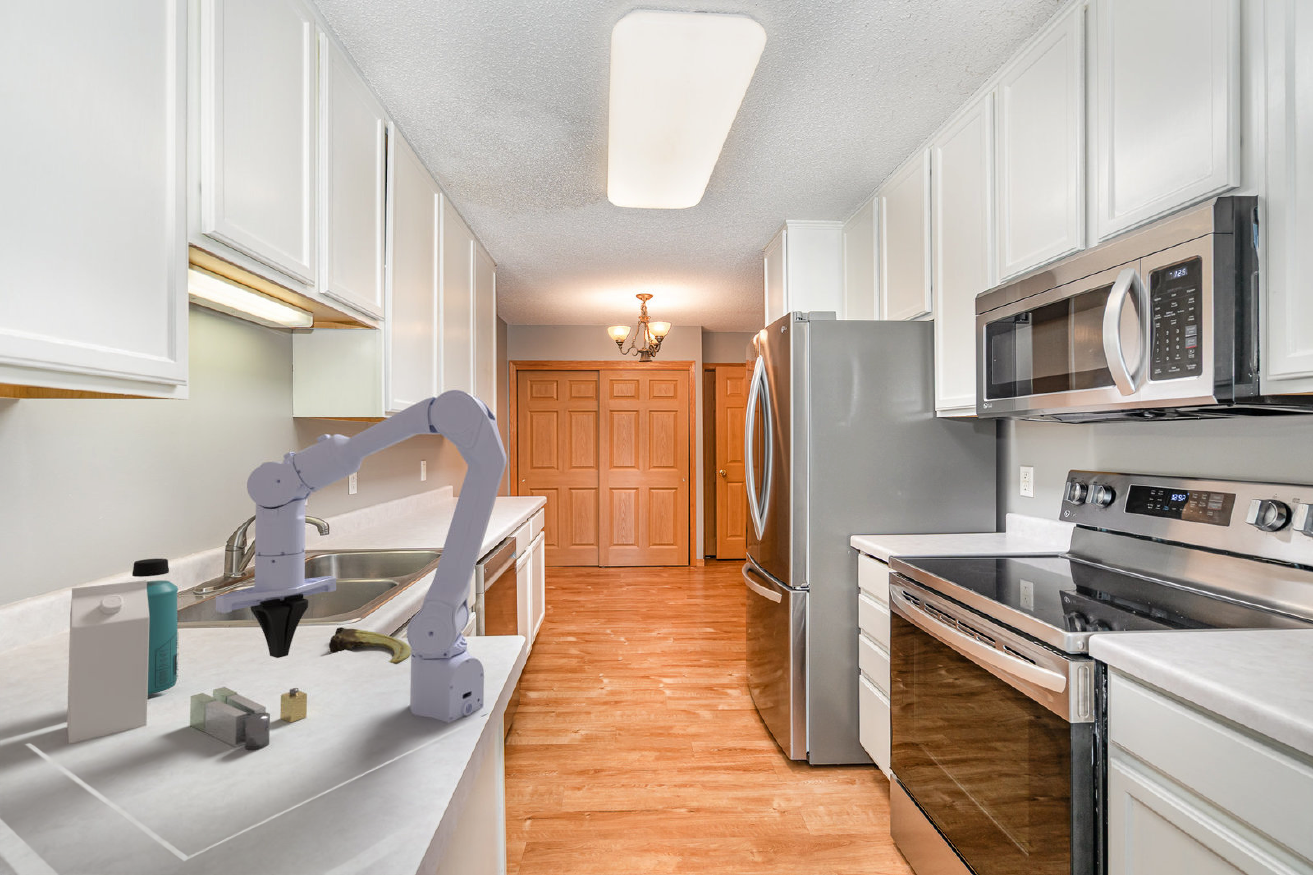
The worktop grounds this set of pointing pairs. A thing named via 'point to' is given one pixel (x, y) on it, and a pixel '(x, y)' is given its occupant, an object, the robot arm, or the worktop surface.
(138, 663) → the milk carton
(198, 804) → the worktop surface
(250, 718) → the tongs fixed
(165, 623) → the beverage bottle
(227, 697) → the bar
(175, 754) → the worktop surface
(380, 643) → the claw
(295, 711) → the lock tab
